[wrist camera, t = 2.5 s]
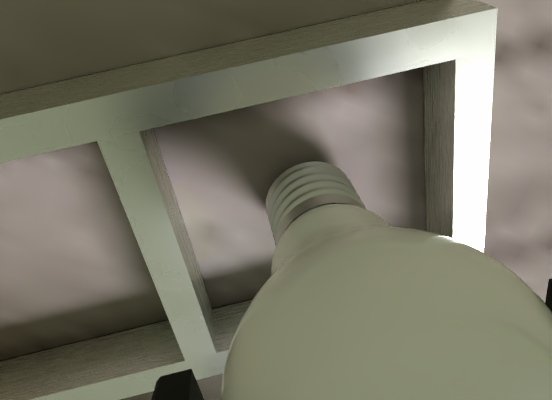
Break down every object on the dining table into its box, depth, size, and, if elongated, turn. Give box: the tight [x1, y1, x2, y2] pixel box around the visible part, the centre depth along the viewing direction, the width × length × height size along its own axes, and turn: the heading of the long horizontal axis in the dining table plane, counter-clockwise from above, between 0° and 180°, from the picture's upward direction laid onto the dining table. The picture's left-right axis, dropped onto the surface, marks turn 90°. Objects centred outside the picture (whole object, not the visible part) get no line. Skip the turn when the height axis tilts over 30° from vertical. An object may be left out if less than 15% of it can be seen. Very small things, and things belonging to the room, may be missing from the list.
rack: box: [0, 0, 497, 400], centre depth 15 cm, size 10×27×2 cm, turn 100°
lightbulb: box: [220, 161, 552, 400], centre depth 11 cm, size 6×6×11 cm
